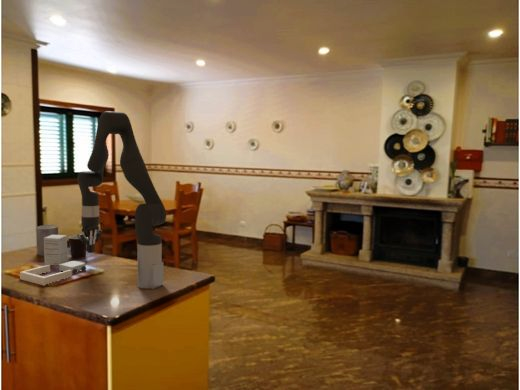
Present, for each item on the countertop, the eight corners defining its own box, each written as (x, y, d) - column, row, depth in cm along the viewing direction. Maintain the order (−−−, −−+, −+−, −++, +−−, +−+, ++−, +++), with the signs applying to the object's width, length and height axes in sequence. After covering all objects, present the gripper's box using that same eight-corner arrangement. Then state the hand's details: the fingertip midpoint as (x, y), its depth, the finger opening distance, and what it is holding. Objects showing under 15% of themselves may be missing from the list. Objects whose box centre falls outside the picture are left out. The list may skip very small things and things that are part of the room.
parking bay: (71, 277, 172) (71, 270, 171) (43, 285, 160) (43, 278, 160) (48, 271, 178) (48, 264, 178) (20, 279, 167) (19, 272, 167)
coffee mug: (83, 259, 198) (83, 239, 197) (65, 258, 198) (65, 238, 197) (93, 253, 210) (93, 234, 209) (76, 252, 210) (76, 233, 209)
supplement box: (52, 260, 195) (52, 234, 194) (68, 261, 195) (67, 234, 193) (43, 264, 188) (43, 237, 186) (59, 265, 187) (59, 238, 186)
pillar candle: (48, 250, 213) (47, 221, 212) (63, 252, 210) (62, 223, 209) (32, 254, 204) (31, 225, 202) (48, 256, 201) (47, 226, 199)
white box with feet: (88, 269, 183) (88, 263, 182) (73, 274, 175) (72, 267, 175) (74, 266, 187) (74, 260, 186) (58, 270, 180) (58, 264, 179)
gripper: (84, 218, 179) (84, 256, 181) (107, 214, 191) (107, 250, 193) (72, 216, 183) (72, 254, 185) (96, 212, 194) (96, 248, 196)
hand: (90, 252), depth 189 cm, fingers closed
